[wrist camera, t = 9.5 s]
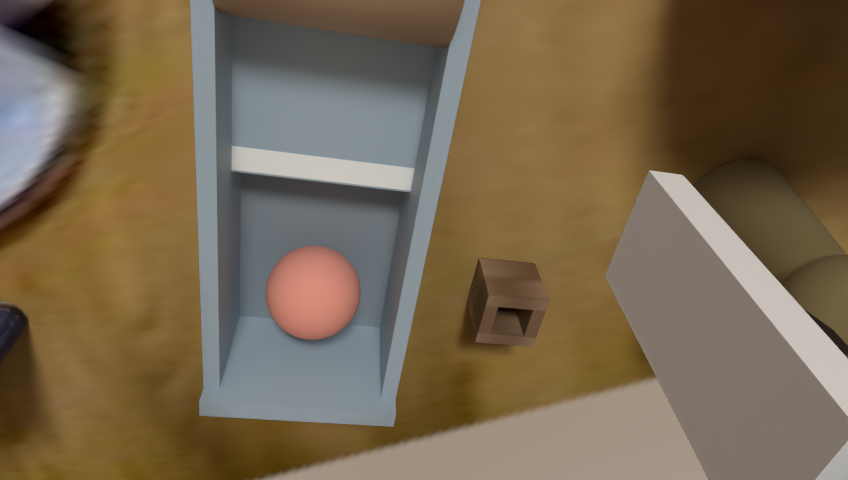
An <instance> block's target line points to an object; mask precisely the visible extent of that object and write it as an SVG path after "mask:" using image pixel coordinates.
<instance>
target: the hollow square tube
mask: <svg viewBox="0 0 848 480" xmlns="http://www.w3.org/2000/svg"><path fill="white" fill-rule="evenodd" d="M548 303H549V300H548V297H547V294H546V292H545V289H544V287H543V284H542V281H541V279H540V276H539V274H538V271H537V268H536V266H535V264H533V263H523V262H514V261H504V260H494V259H484V258H479V261H478V264H477V268H476V272H475V275H474V279H473V283H472V286H471V290H470V294H469V297H468V301H467V305H468V310H469V315H470V320H471V325H472V330H473V335H474V339H475V342H477V343H490V344H502V345H515V346H527V347H533V344H534V341H535V339H536V336H537V333H538V330H539V328H540V325H541V322H542V319H543V317H544V314H545V311H546V308H547V306H548Z"/></svg>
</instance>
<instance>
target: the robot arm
mask: <svg viewBox="0 0 848 480" xmlns="http://www.w3.org/2000/svg"><path fill="white" fill-rule="evenodd" d="M605 277H606V279H607V281H608V283H609V285H610V287H611V289H612V291H613V293H614V295H615V297H616V299H617V301H618V303H619V305H620V307H621V309H622V311H623V313H624V315H625V317H626V318H627V320H628V322H629V324H630V326H631V328H632V330H633V332H634V334H635V336H636V338H637V340H638V342H639V344H640V346H641V348H642V350H643V352H644V354H645V356H646V358H647V360H648V362H649V364H650V366H651V368H652V370H653V372H654V374H655V376H656V377H657V379H658V381H659V383H660V385H661V387H662V389H663V391H664V393H665V395H666V397H667V399H668V401H669V403H670V405H671V407H672V409H673V411H674V413H675V414H676V417H677V419H678V421H679V423H680V425H681V427H682V429H683V430H684V432H685V434H686V436H687V438H688V440H689V442H690V444H691V446H692V448H693V450H694V452H695V454H696V456H697V458H698V460H699V462H700V464H701V466H702V468H703V470H704V472H705V474H706V476H707V478H708V480H848V345H847V344H846V343H845V342H844V341H843V340H842V339H841V338H840V337H839V335H838V334H837V333H836V332H835V331H834V330H833V329H831V328H830V327H829V326H827V325H826V324H824V323H823V322H822V321H820V320H819V319H818V318H816V317H815V316H813V315H812V314H811V313H809V312H808V311H807V310H805V309H803V308H802V307H801V306H800V305H799V304H798V303H797V301H796V300H795V299H794V298H793V297H792V296H791V295H790V294H789V293H788V291H787V290H786V289H785V288H784V287H783V286H782V285H781V284H780V283H779V281H778V280H777V279H776V278H775V277H774V276H773V275H772V274H771V272H770V271H769V270H768V269H767V268H766V267H765V266H764V265H763V264H762V262H761V261H760V260H759V259H758V258H757V257H756V256H755V255H754V254H753V252H752V251H751V250H750V249H749V248H748V247H747V246H746V245H745V244H744V242H743V241H742V240H741V239H740V238H739V237H738V236H737V235H736V234H735V232H734V231H733V230H732V229H731V228H730V227H729V226H728V225H727V224H726V222H725V221H724V220H723V219H722V218H721V217H720V216H719V215H718V213H717V212H716V211H715V210H714V209H713V208H712V207H711V206H710V205H709V203H708V202H707V201H706V200H705V199H704V198H703V197H702V196H701V195H700V193H699V192H698V191H697V190H696V189H695V188H694V187H693V186H692V185H691V183H690V182H689V181H688V180H687V179H686V178H685V177H684V176H683V175H679V174H672V173H665V172H658V171H651V170H649V171H648V173H647V176H646V178H645V181H644V183H643V185H642V188H641V190H640V193H639V195H638V197H637V200H636V202H635V205H634V207H633V209H632V212H631V214H630V217H629V219H628V221H627V224H626V226H625V229H624V231H623V233H622V236H621V238H620V241H619V243H618V245H617V248H616V250H615V253H614V255H613V258H612V260H611V262H610V265H609V267H608V270H607V272H606V274H605Z"/></svg>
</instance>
